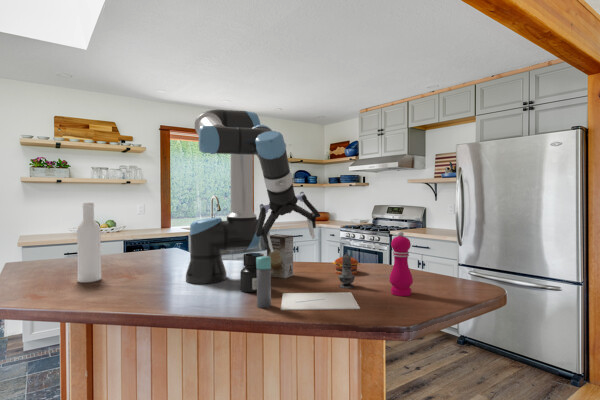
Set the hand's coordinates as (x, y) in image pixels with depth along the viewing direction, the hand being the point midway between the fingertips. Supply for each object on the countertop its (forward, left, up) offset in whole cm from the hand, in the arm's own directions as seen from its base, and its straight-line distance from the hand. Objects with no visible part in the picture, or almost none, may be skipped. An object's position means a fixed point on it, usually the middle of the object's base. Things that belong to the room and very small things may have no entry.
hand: (292, 242), depth 112 cm
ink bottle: (-13, +9, -17) cm, 23 cm away
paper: (+8, -5, -17) cm, 19 cm away
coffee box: (-5, +30, -17) cm, 35 cm away
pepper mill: (+35, +2, -17) cm, 39 cm away
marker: (-8, -9, -17) cm, 21 cm away
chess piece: (+19, +12, -17) cm, 28 cm away
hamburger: (+22, +34, -17) cm, 44 cm away
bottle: (-78, +26, -17) cm, 84 cm away
